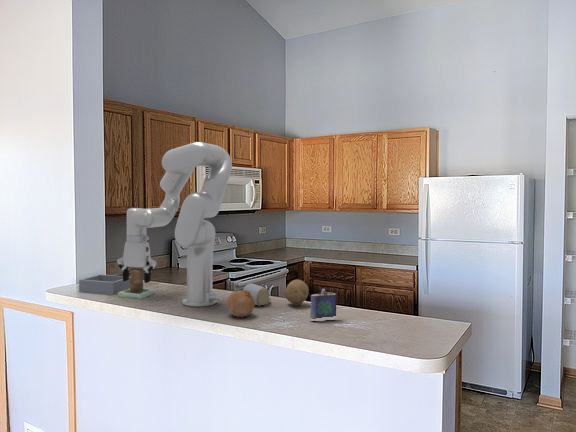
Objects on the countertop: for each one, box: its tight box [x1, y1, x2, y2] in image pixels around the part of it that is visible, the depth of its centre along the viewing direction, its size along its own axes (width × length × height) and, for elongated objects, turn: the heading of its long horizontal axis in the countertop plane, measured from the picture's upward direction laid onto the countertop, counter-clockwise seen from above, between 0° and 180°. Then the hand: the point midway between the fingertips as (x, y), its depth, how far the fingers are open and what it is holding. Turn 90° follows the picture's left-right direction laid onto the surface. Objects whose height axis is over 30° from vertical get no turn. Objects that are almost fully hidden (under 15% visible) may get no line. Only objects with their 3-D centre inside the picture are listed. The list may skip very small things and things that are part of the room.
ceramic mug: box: [242, 282, 272, 307], centre depth 173 cm, size 11×8×8 cm
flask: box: [309, 288, 338, 319], centre depth 153 cm, size 9×3×11 cm, turn 109°
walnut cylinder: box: [129, 267, 144, 294], centre depth 183 cm, size 5×5×10 cm
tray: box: [117, 287, 155, 300], centre depth 183 cm, size 10×10×2 cm
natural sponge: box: [284, 279, 310, 306], centre depth 172 cm, size 9×9×10 cm
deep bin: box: [78, 274, 130, 296], centre depth 191 cm, size 16×13×5 cm
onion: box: [226, 289, 256, 318], centre depth 156 cm, size 10×9×10 cm
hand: (136, 281), depth 183 cm, fingers open, 9 cm apart
